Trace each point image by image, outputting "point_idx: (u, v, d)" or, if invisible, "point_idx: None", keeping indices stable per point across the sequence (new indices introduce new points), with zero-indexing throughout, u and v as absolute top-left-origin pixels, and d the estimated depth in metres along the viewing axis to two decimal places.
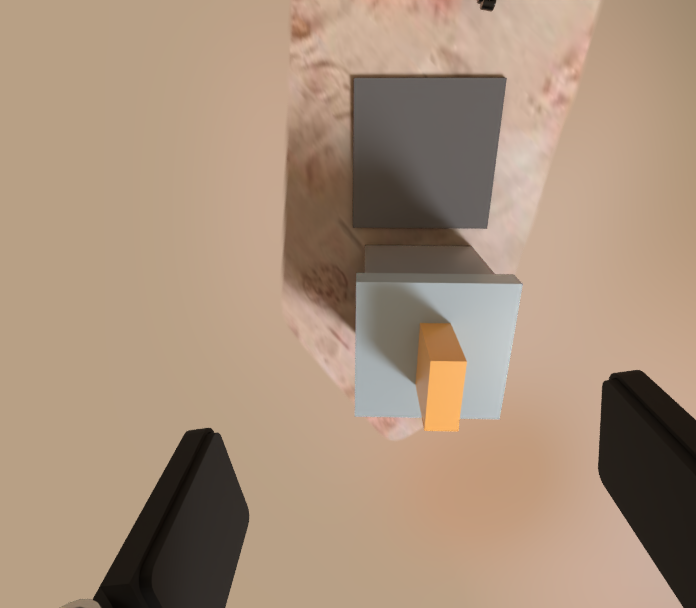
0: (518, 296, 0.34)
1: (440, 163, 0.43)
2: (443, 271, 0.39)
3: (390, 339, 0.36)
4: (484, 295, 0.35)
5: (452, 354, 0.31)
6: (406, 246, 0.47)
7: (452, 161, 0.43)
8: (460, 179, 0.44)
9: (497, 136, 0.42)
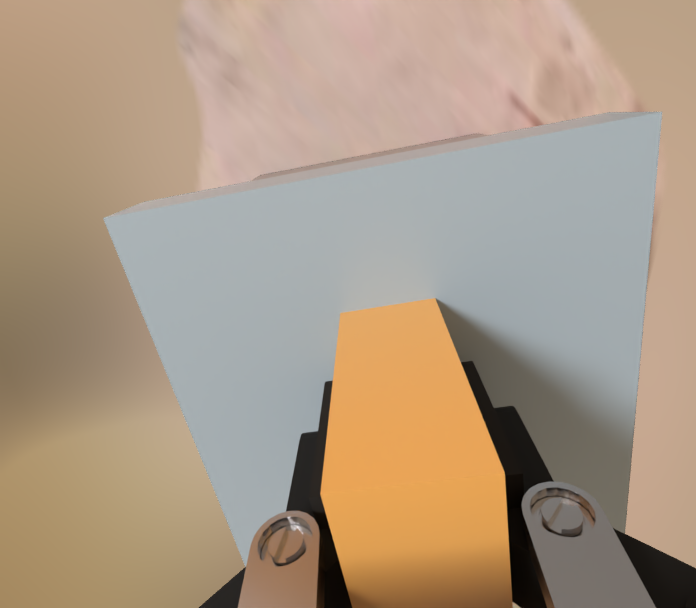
0: (243, 551, 0.15)
1: None
2: None
3: (531, 423, 0.13)
4: None
5: None
6: None
7: None
8: None
9: None
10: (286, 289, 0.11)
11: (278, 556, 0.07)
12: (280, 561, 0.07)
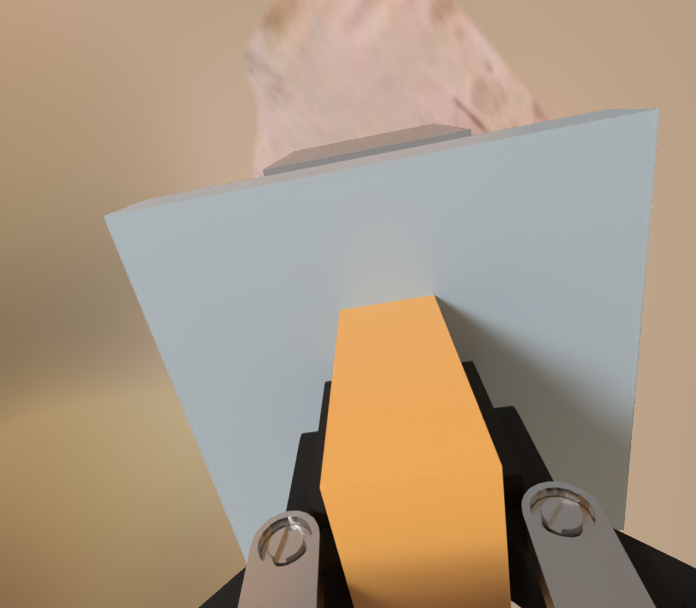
0: (245, 547, 0.15)
1: None
2: None
3: (530, 419, 0.13)
4: None
5: None
6: None
7: None
8: None
9: None
10: (286, 286, 0.11)
11: (278, 556, 0.07)
12: (280, 561, 0.07)
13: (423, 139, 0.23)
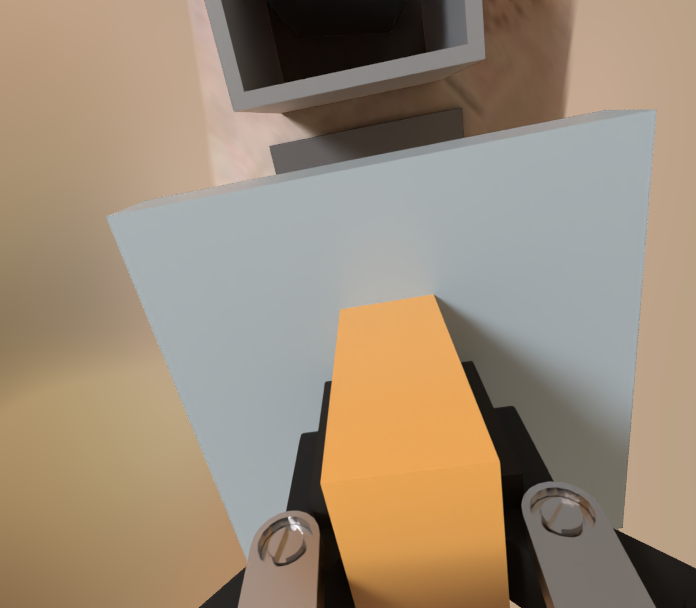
0: (245, 546, 0.15)
1: None
2: (333, 96, 0.23)
3: (529, 417, 0.13)
4: None
5: None
6: (375, 93, 0.31)
7: None
8: None
9: None
10: (286, 286, 0.11)
11: (278, 556, 0.07)
12: (280, 561, 0.07)
13: None
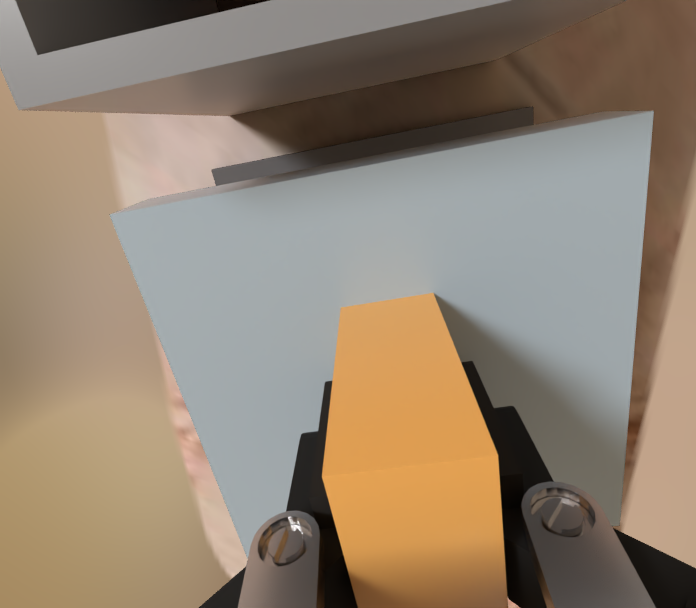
0: (246, 543, 0.16)
1: None
2: (300, 77, 0.11)
3: (527, 415, 0.13)
4: None
5: None
6: (387, 82, 0.18)
7: None
8: None
9: None
10: (288, 284, 0.12)
11: (278, 556, 0.07)
12: (280, 561, 0.07)
13: None
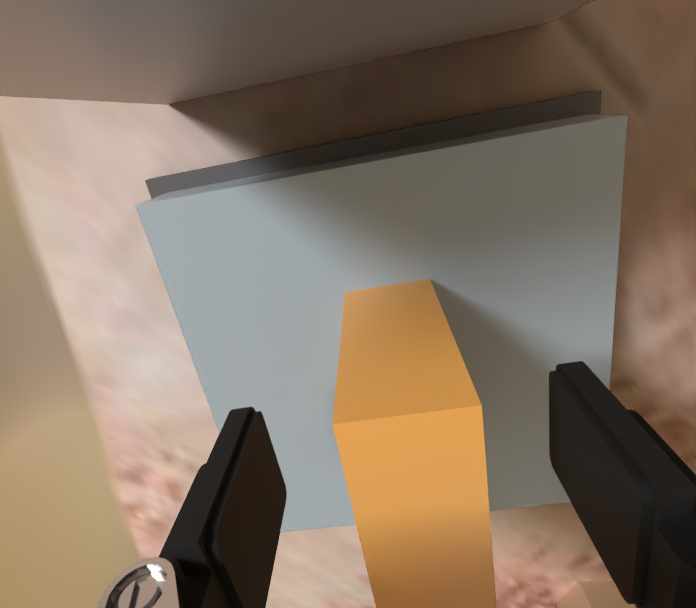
0: None
1: None
2: (223, 15, 0.05)
3: (516, 394, 0.14)
4: (322, 507, 0.16)
5: None
6: (391, 55, 0.12)
7: None
8: None
9: None
10: (297, 270, 0.13)
11: None
12: None
13: None
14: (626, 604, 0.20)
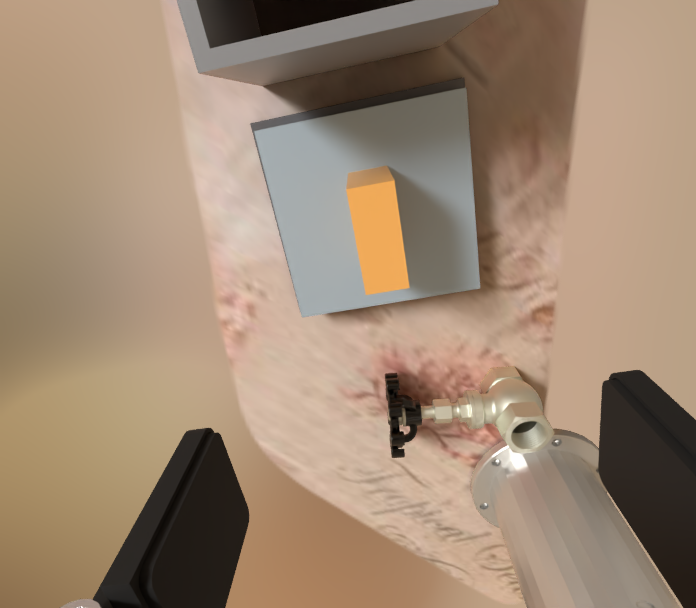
0: (300, 304, 0.32)
1: None
2: (318, 58, 0.20)
3: (431, 226, 0.29)
4: (337, 298, 0.31)
5: None
6: None
7: None
8: None
9: None
10: (326, 162, 0.28)
11: None
12: None
13: None
14: (515, 373, 0.36)
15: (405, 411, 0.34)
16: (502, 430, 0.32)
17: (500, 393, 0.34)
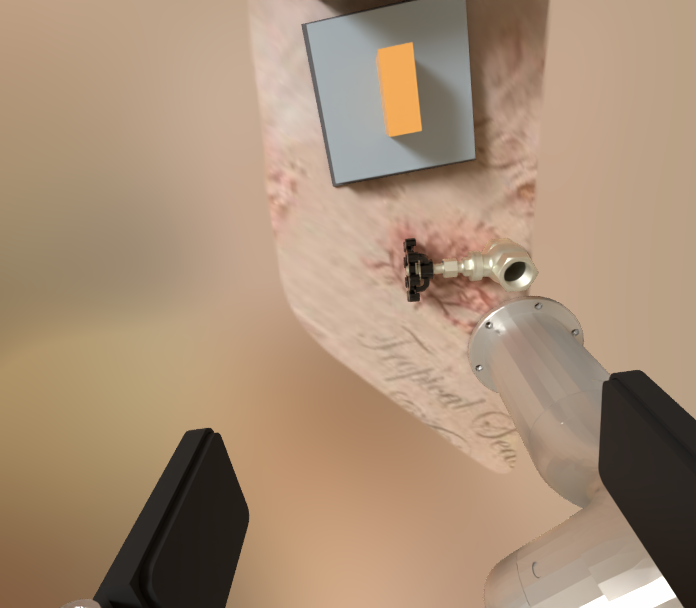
0: (335, 172, 0.41)
1: None
2: None
3: (438, 104, 0.38)
4: (364, 166, 0.40)
5: None
6: None
7: None
8: None
9: (324, 133, 0.41)
10: (359, 50, 0.37)
11: None
12: None
13: None
14: (508, 241, 0.44)
15: (420, 265, 0.43)
16: (497, 271, 0.40)
17: (496, 249, 0.42)
